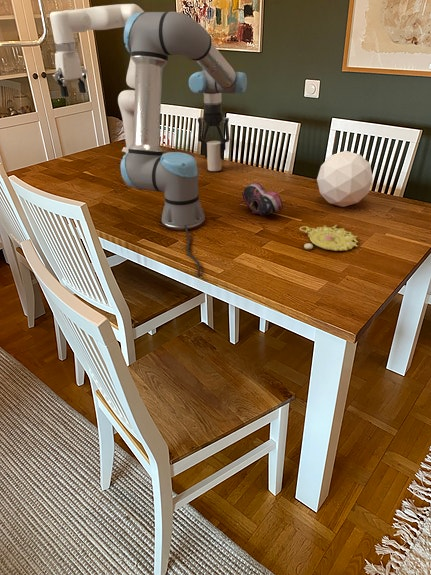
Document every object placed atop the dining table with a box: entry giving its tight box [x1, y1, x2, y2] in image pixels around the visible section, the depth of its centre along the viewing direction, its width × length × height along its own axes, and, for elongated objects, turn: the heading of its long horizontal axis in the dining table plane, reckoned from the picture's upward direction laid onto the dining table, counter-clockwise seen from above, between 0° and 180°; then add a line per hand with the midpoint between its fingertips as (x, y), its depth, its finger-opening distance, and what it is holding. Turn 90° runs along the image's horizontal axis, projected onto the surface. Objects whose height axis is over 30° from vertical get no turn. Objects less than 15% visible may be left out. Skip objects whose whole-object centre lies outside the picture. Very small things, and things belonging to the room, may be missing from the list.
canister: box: [206, 140, 222, 172], centre depth 200 cm, size 6×6×12 cm
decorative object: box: [299, 224, 359, 252], centre depth 141 cm, size 21×2×20 cm
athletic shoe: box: [238, 182, 284, 217], centre depth 160 cm, size 11×22×12 cm
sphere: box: [316, 150, 374, 208], centre depth 161 cm, size 19×20×20 cm
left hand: (74, 94), depth 184 cm, fingers open, 9 cm apart
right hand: (214, 157), depth 201 cm, fingers open, 7 cm apart
